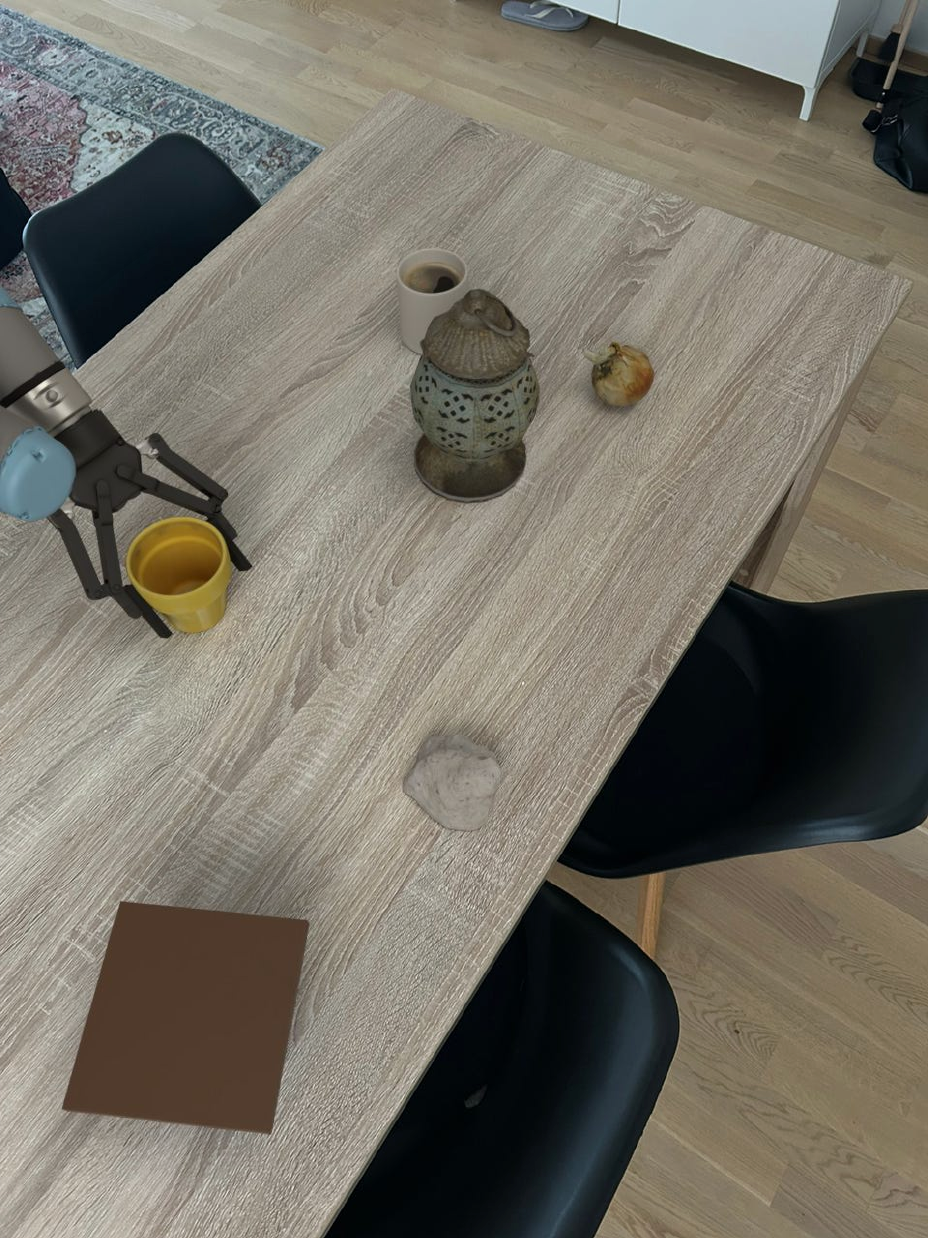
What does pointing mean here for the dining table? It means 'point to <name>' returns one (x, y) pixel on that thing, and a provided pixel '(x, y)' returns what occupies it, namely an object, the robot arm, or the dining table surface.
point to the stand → (190, 1018)
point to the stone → (454, 781)
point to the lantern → (473, 400)
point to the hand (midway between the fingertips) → (207, 601)
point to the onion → (620, 374)
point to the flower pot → (181, 571)
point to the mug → (427, 290)
